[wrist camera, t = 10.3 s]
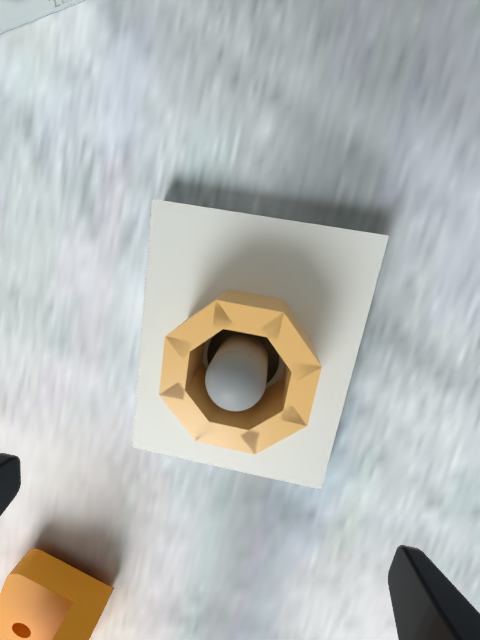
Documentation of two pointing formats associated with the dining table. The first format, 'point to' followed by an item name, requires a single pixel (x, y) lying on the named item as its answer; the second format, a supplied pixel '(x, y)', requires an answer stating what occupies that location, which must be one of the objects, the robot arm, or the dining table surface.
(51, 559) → the bracket
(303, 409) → the collar
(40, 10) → the light bulb box
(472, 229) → the dining table surface
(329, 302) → the shaft board
